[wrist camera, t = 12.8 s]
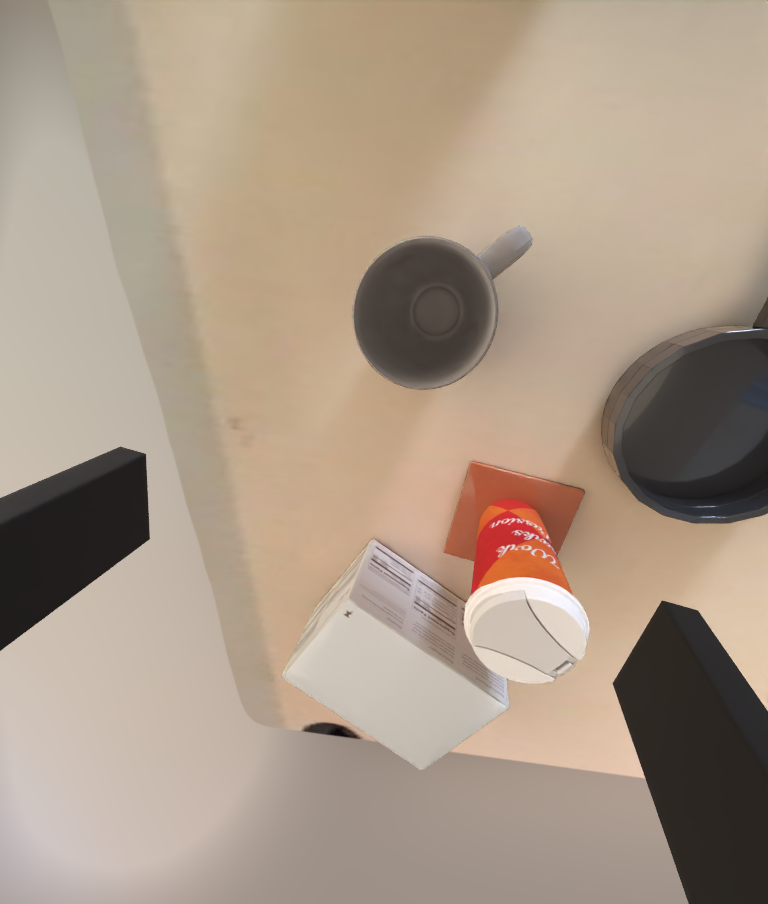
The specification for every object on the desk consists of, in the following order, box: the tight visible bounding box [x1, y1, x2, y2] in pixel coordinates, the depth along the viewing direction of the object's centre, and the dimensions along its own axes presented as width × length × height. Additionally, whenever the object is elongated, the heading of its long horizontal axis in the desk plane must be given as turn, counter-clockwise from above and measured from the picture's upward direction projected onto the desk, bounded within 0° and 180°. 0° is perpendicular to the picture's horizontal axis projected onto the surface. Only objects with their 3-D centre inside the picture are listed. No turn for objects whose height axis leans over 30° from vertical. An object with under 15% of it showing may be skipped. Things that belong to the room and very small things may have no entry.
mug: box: [352, 226, 532, 390], centre depth 28 cm, size 12×9×10 cm
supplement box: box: [281, 539, 509, 771], centre depth 41 cm, size 17×13×9 cm
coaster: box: [444, 461, 585, 561], centre depth 38 cm, size 10×10×1 cm
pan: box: [601, 325, 768, 523], centre depth 30 cm, size 14×14×4 cm
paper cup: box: [464, 499, 590, 683], centre depth 32 cm, size 8×8×14 cm
